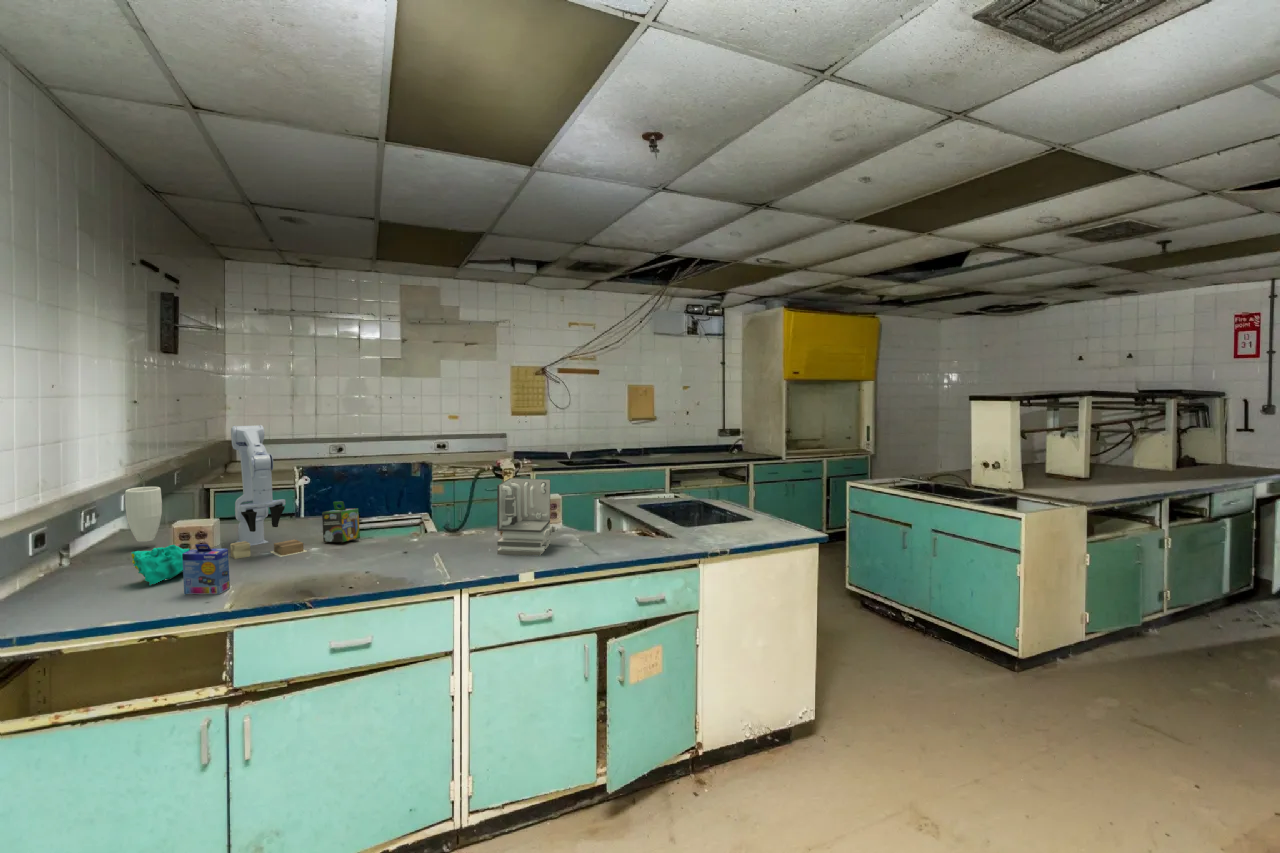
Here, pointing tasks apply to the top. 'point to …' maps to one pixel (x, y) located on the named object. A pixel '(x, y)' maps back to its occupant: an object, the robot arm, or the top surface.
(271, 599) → the top surface
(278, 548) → the brown square wooden block
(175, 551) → the teal lumpy piece
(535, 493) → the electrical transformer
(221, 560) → the ink cartridge box
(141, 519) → the cup
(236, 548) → the maple cube
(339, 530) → the chalk box
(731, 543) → the top surface
